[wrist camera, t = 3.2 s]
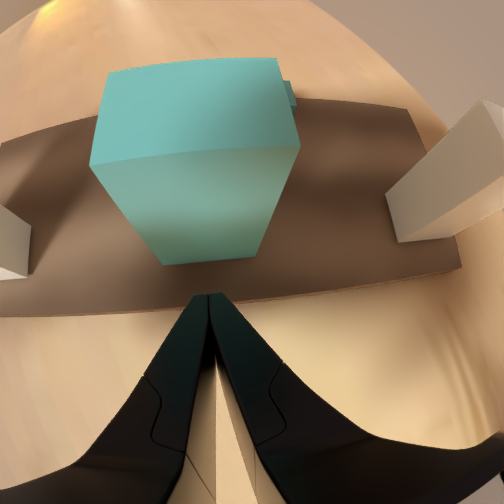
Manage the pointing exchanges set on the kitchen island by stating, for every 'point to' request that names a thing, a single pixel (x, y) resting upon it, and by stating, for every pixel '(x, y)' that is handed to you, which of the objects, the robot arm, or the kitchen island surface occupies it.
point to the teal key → (196, 154)
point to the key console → (221, 271)
